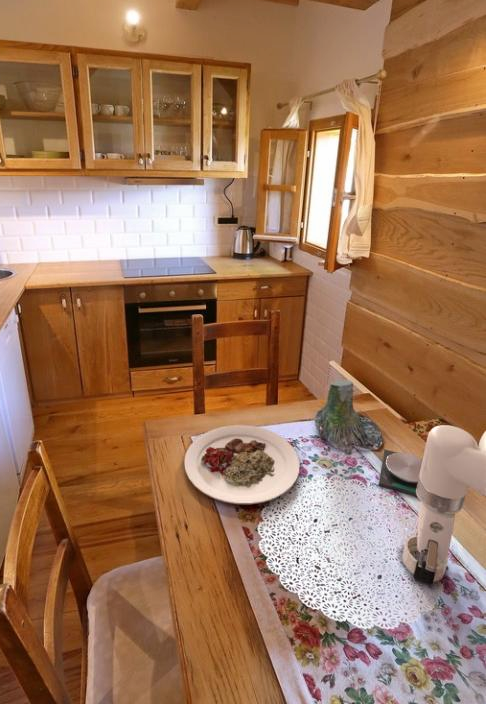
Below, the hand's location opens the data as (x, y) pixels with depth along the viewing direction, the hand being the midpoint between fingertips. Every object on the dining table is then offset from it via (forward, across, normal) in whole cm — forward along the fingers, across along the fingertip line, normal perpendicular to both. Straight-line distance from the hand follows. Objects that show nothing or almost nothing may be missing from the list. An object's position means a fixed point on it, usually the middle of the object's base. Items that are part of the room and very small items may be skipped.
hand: (423, 562), depth 79 cm
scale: (+1, +25, +4) cm, 25 cm away
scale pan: (-1, +25, +4) cm, 25 cm away
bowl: (+1, 0, 0) cm, 1 cm away
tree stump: (+2, +38, +21) cm, 43 cm away
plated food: (+2, +12, +43) cm, 45 cm away
